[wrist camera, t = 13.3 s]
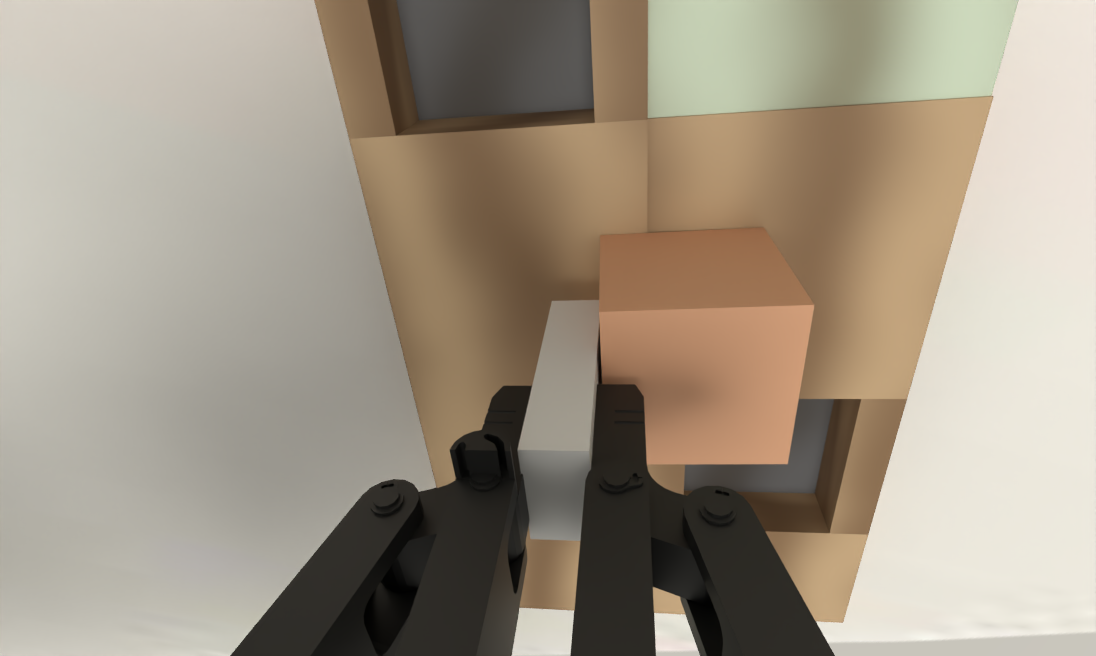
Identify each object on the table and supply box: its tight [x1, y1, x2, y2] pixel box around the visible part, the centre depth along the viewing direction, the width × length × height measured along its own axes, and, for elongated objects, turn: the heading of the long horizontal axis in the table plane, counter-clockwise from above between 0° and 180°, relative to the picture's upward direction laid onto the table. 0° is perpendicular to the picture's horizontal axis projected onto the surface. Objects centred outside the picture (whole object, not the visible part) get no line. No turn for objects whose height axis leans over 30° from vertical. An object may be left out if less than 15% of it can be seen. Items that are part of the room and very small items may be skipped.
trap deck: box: [314, 0, 1018, 623], centre depth 20 cm, size 18×31×6 cm, turn 5°
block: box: [599, 227, 814, 465], centre depth 17 cm, size 5×5×5 cm
